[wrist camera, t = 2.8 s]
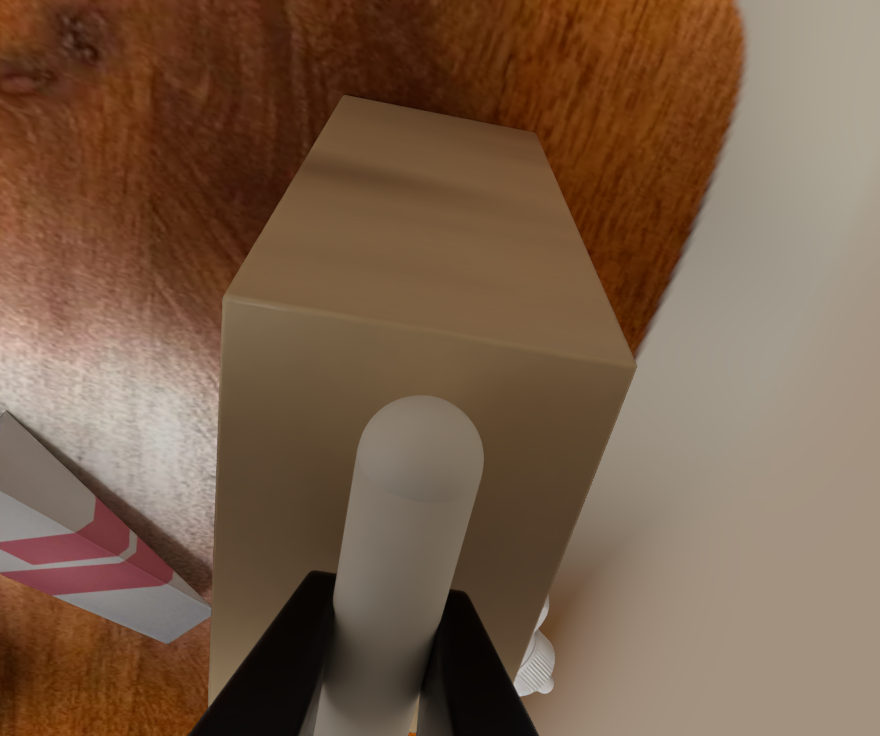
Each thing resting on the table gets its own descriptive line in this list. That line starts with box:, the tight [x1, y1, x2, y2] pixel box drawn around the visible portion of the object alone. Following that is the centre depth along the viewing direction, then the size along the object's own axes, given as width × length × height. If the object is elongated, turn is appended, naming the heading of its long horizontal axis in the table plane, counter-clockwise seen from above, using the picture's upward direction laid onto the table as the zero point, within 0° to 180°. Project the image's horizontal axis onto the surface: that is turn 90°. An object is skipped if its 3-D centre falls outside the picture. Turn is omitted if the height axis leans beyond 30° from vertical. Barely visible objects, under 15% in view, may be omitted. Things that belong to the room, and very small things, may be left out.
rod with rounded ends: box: [313, 395, 484, 736], centre depth 10 cm, size 7×1×1 cm, turn 169°
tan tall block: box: [208, 95, 637, 733], centre depth 15 cm, size 8×5×12 cm, turn 169°
